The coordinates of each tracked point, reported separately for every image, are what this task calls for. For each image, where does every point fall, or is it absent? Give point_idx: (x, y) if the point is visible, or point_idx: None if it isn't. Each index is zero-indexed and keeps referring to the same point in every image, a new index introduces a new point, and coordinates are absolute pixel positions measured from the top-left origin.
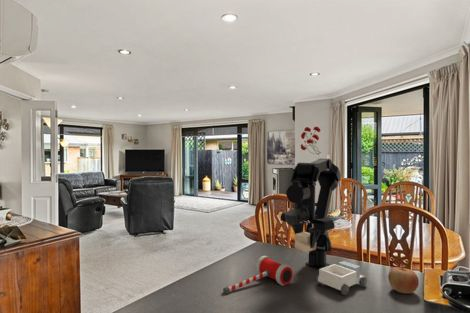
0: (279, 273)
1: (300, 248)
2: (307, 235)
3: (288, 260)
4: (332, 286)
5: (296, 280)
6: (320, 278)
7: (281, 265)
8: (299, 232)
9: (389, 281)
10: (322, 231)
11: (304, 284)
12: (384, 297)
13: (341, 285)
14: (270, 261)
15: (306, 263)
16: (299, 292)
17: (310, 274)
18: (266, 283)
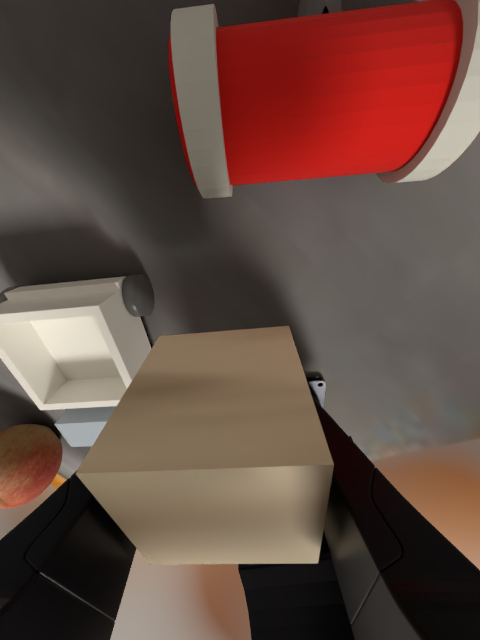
0: (176, 9)
1: (222, 339)
2: (149, 511)
3: (401, 356)
4: (53, 284)
5: (220, 230)
6: (103, 283)
7: (209, 58)
8: (336, 525)
9: (32, 440)
10: (255, 606)
11: (169, 231)
12: (12, 378)
13: (8, 301)
14: (371, 60)
15: (318, 380)
16: (98, 132)
17: (241, 327)
18: (274, 4)
